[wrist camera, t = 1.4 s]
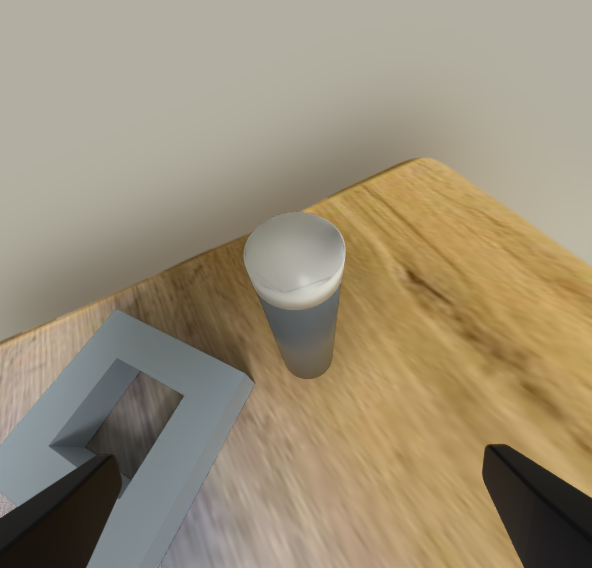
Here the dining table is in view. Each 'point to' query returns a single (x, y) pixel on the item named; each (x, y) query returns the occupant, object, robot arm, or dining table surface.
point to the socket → (163, 455)
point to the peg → (298, 286)
